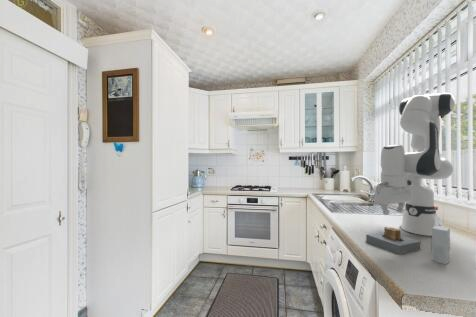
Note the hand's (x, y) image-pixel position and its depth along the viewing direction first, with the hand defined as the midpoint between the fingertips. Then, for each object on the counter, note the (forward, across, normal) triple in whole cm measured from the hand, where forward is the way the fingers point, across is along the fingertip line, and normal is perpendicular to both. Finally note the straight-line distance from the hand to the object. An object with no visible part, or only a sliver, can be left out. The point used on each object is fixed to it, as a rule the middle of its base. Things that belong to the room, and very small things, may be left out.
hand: (393, 213), depth 95 cm
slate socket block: (+14, -1, 0) cm, 14 cm away
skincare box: (+14, +1, -16) cm, 21 cm away
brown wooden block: (+14, -1, 0) cm, 14 cm away
